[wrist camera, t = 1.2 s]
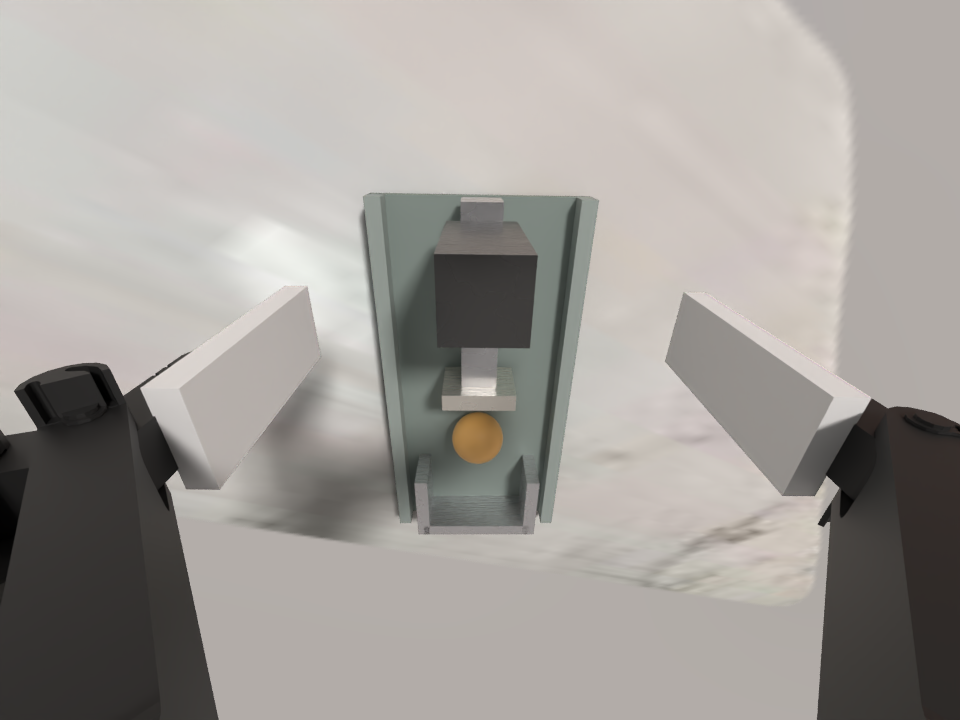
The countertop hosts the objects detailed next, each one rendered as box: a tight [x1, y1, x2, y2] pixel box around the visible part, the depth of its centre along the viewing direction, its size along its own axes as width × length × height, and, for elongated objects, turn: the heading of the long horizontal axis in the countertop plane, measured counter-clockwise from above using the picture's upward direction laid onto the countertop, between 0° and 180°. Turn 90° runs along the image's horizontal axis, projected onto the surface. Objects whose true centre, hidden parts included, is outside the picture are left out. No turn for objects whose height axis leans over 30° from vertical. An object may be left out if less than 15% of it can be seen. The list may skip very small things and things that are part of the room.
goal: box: [414, 454, 540, 534], centre depth 35 cm, size 10×6×4 cm, turn 89°
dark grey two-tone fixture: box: [434, 197, 538, 411], centre depth 23 cm, size 5×13×11 cm, turn 179°
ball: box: [452, 412, 503, 464], centre depth 31 cm, size 4×4×4 cm
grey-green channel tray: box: [363, 193, 599, 523], centre depth 31 cm, size 14×28×2 cm, turn 179°
